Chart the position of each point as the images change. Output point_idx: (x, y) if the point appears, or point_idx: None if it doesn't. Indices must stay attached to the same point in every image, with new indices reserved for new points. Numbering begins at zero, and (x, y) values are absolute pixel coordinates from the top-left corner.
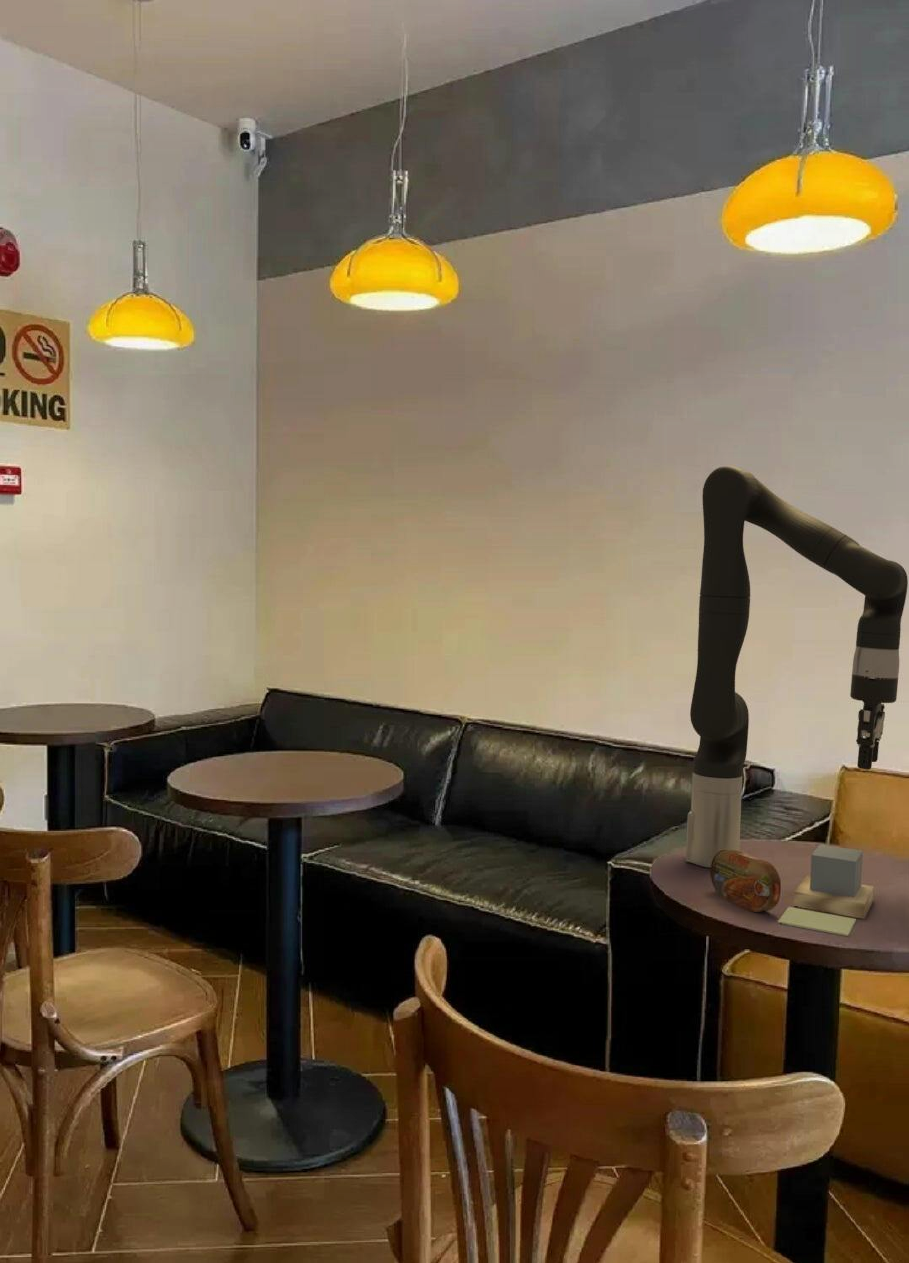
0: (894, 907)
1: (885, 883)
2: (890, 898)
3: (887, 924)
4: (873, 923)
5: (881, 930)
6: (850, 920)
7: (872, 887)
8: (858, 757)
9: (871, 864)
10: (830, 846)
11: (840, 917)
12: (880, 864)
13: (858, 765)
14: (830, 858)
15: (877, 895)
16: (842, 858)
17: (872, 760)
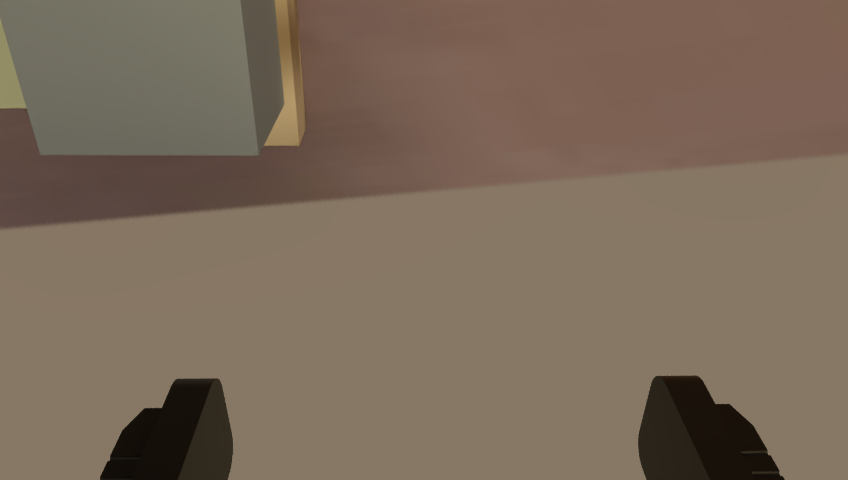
0: (283, 190)
1: (558, 137)
2: (378, 170)
3: (89, 190)
4: (64, 155)
5: (16, 182)
6: (5, 94)
7: (284, 143)
8: (146, 452)
9: (817, 63)
10: (234, 9)
11: (7, 61)
12: (828, 93)
13: (171, 394)
14: (11, 44)
15: (387, 131)
16: (43, 96)
17: (648, 430)
